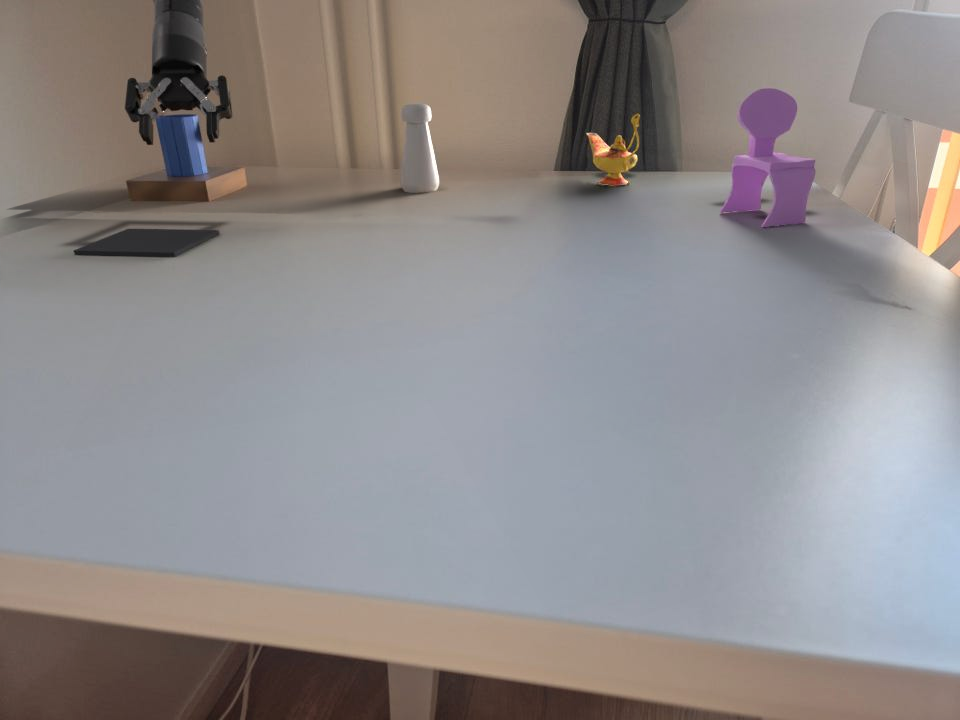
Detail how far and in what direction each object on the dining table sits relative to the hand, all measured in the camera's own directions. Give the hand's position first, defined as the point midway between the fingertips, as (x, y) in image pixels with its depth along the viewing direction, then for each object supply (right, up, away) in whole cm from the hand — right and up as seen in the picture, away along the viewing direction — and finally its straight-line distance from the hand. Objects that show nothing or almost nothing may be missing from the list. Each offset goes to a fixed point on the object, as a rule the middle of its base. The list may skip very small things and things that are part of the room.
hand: (180, 140), depth 97 cm
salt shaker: (+34, -8, +4) cm, 35 cm away
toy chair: (+78, -14, -12) cm, 80 cm away
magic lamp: (+64, -3, +13) cm, 65 cm away
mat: (+5, -18, -18) cm, 26 cm away
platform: (0, -8, +4) cm, 9 cm away
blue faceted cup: (0, -4, +3) cm, 5 cm away
